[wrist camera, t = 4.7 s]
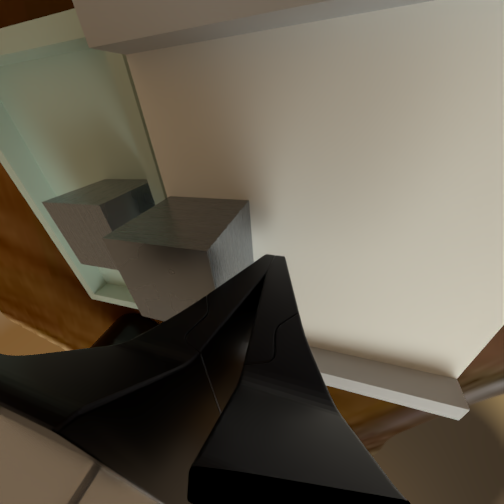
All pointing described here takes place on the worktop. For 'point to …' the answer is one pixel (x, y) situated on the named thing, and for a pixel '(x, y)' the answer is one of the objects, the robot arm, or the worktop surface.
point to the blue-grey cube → (181, 251)
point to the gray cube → (98, 215)
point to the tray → (70, 127)
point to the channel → (342, 164)
